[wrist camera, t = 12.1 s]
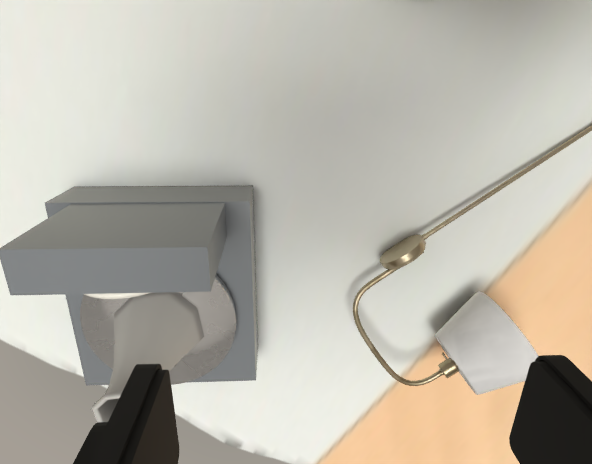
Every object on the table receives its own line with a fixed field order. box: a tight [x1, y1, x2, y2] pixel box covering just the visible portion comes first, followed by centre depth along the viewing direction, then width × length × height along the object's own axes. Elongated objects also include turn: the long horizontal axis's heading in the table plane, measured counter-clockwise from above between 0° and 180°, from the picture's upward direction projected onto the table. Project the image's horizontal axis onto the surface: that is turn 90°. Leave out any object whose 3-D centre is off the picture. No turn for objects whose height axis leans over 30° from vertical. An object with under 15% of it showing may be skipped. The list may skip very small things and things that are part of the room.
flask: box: [91, 292, 204, 422], centre depth 30 cm, size 7×7×10 cm
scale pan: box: [80, 275, 236, 384], centre depth 35 cm, size 13×13×1 cm
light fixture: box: [353, 125, 592, 395], centre depth 38 cm, size 9×18×40 cm
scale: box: [0, 186, 258, 385], centre depth 33 cm, size 16×18×14 cm
